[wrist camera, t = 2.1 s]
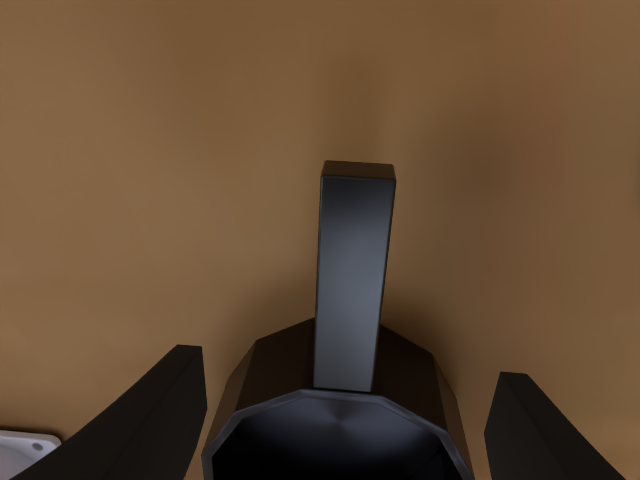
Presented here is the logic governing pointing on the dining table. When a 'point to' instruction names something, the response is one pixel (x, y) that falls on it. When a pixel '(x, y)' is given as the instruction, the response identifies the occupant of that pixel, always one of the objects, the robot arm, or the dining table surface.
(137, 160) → the dining table surface
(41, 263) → the dining table surface
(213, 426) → the pan
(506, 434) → the robot arm
